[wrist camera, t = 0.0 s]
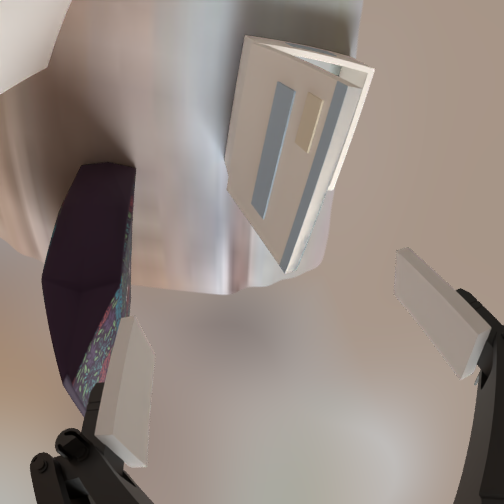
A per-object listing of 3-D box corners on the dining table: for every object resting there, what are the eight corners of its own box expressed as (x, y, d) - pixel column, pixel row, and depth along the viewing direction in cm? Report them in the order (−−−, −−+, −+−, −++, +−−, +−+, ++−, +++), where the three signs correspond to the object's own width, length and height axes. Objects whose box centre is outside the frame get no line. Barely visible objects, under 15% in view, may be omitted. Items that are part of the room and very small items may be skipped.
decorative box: (84, 251, 46) (64, 430, 27) (78, 159, 35) (12, 373, 16) (133, 254, 48) (133, 434, 29) (139, 162, 38) (121, 384, 19)
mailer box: (316, 165, 43) (333, 190, 39) (224, 159, 40) (231, 185, 36) (350, 55, 32) (375, 68, 28) (245, 34, 28) (256, 41, 24)
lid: (296, 270, 28) (283, 274, 28) (236, 188, 36) (225, 189, 35) (362, 88, 17) (346, 85, 16) (263, 44, 24) (250, 42, 24)
